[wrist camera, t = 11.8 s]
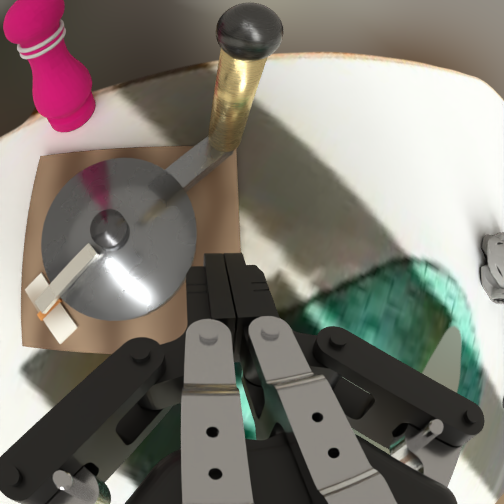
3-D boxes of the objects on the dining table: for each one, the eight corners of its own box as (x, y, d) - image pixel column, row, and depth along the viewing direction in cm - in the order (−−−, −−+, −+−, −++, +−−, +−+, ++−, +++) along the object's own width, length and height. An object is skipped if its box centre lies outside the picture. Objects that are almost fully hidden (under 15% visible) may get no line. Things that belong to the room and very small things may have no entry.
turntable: (103, 368, 22) (-11, 429, 6) (17, 254, 22) (-103, 191, 6) (286, 186, 29) (375, 66, 13) (190, 102, 29) (202, -34, 13)
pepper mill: (76, 85, 29) (40, -36, 10) (110, 102, 30) (79, -38, 10) (38, 123, 27) (-24, 8, 8) (69, 145, 28) (2, 10, 8)
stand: (29, 345, 23) (20, 346, 21) (45, 162, 27) (38, 154, 25) (243, 349, 27) (246, 352, 25) (234, 154, 31) (237, 144, 29)
